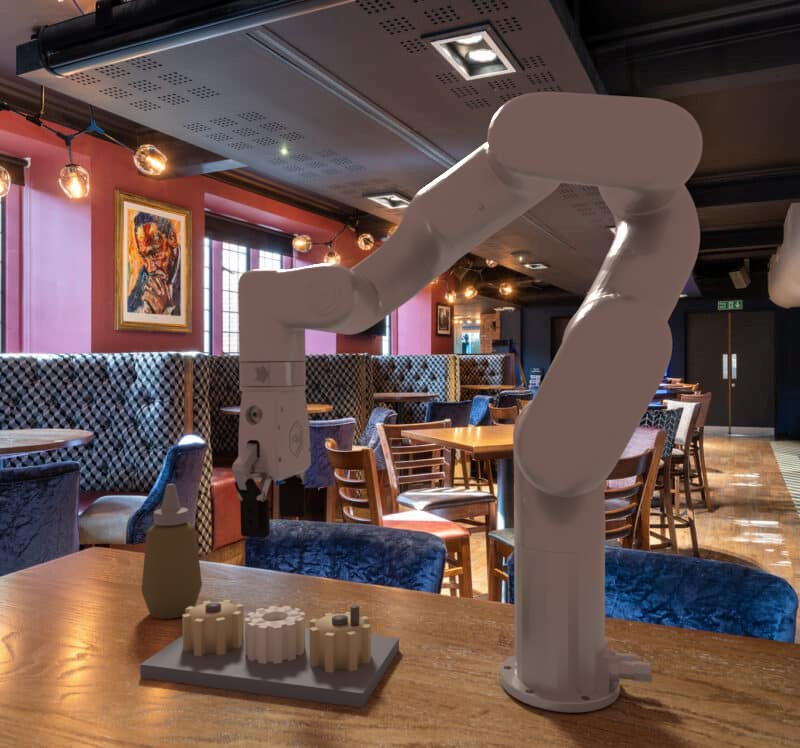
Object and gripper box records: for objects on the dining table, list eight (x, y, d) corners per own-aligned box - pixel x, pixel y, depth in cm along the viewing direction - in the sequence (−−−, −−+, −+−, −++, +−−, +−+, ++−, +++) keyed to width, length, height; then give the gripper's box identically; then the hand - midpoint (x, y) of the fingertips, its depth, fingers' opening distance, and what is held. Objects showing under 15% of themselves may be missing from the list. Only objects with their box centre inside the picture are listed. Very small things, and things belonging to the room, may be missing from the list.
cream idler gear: (313, 641, 81) (313, 608, 81) (290, 666, 74) (289, 630, 74) (262, 636, 82) (261, 603, 82) (234, 659, 76) (234, 624, 76)
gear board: (399, 650, 82) (398, 588, 81) (362, 708, 68) (362, 634, 68) (207, 629, 88) (207, 572, 88) (140, 677, 75) (139, 610, 75)
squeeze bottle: (183, 625, 90) (182, 491, 89) (129, 621, 91) (127, 489, 91) (212, 604, 97) (211, 480, 97) (161, 600, 99) (160, 478, 99)
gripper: (269, 380, 68) (271, 548, 69) (330, 376, 85) (332, 511, 85) (203, 380, 70) (205, 543, 71) (275, 376, 87) (277, 508, 87)
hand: (275, 525), depth 78 cm, fingers open, 9 cm apart
